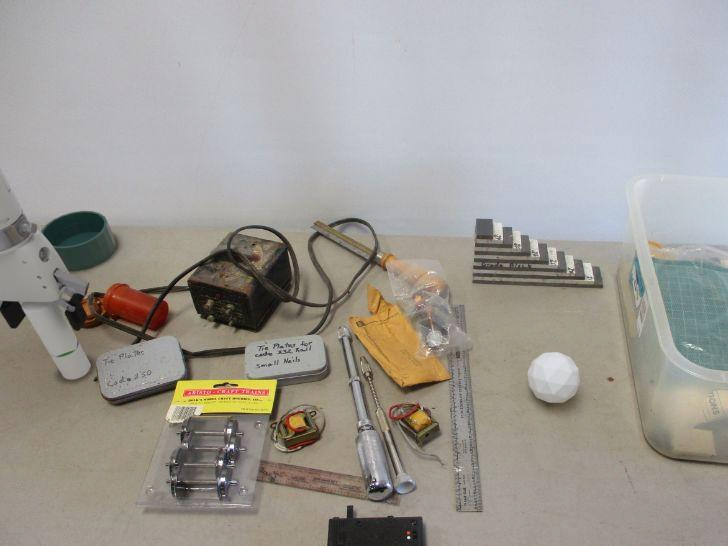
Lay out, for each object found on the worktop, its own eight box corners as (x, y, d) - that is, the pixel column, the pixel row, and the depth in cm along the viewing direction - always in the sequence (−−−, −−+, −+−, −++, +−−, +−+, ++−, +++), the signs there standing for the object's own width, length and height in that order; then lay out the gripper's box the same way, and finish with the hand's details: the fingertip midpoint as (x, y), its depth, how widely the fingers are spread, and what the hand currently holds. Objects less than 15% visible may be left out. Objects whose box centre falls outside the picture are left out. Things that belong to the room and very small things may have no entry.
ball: (538, 410, 93) (515, 392, 88) (544, 364, 97) (523, 344, 91) (585, 412, 89) (564, 393, 83) (589, 363, 92) (570, 341, 87)
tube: (56, 376, 94) (14, 309, 84) (73, 357, 97) (35, 290, 87) (80, 381, 93) (41, 314, 83) (96, 361, 96) (60, 294, 86)
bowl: (39, 269, 113) (27, 246, 109) (68, 231, 122) (57, 209, 118) (101, 271, 113) (91, 249, 109) (125, 233, 122) (116, 211, 118)
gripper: (75, 215, 79) (117, 307, 90) (-52, 211, 79) (6, 303, 91) (48, 250, 73) (96, 343, 85) (-88, 245, 74) (-21, 339, 85)
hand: (50, 323), depth 88 cm, fingers open, 9 cm apart
